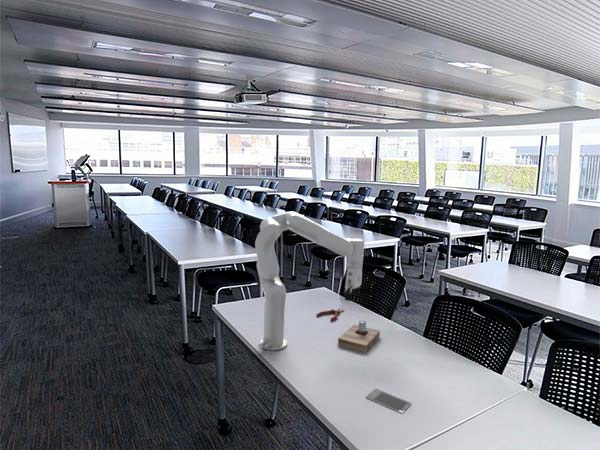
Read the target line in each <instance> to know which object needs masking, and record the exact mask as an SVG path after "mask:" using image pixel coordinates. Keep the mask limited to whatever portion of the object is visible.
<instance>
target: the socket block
mask: <svg viewBox="0 0 600 450" xmlns="http://www.w3.org/2000/svg"><path fill="white" fill-rule="evenodd" d="M358 327H359V324H358V325H356V324H353V325H352V326H351V327H349V329H347V330H346V331H345V332H344V333H342V335H341V336H339V337H338V340H337V346H339V347H344V348H347V349H350V350H355V351H358V352H362V353H365V354H366V353H367V352H368V350H369V349H370V348H372V347H373V345H374V344H375V343H376V342H377V341H378V340H379V339H380V334H381V330H377V329H373V328H369V327H366V332H365V336H364V335H360V334H358Z"/></svg>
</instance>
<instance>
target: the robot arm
mask: <svg viewBox="0 0 600 450" xmlns="http://www.w3.org/2000/svg"><path fill="white" fill-rule="evenodd" d="M260 222H261V223H260V225H259V232H258V234H257V235H256V239H255V241H254V247H255V248H254V249H255V253H256V258H257V261H256V271H257V274H258V277H259V281H260V284H261V288H262V291H263V293H264V307H263V310H264V311H263V312H264V313H263V314H264V315H263V337H262V339H261V340H260V343H259V344H258V347H259V348H263V349H264V350H267V351H280V350H283V349H285V348H286V347H287V343H288V342H287V340H286V339H284V338H285V335H284V334H285V311H286V310H285V309H286V308H285V307H286V299H287V289H286V286H285V284H284V283H283V282H282V280H281V279H280V266H279V262H278V259H277V254H276V250H275V242H276V240H277V239H278V238H279V237H280V236H281V234H282V232H286V231H287V230H290V231H291V232H294V233H295V234H297V235H299V236H301V237H303V238H305V239H307V240H309V241H311V242H312V243H315V244H316V245H318V246H320V247H321V246H322V247H324V248H326V249H327V250H329V251H331V252H333V253H335V254H338V255H340V256H341V257H345V258H346V257H347V260H346V267H347V269H346V271H347V272H346V276H345V285H344V293H345V294H344V300H345V301H349V302H351V301H352V295H353V296H355V297H359V296H360V287H361V285H362V283H363V282H362V280H363V278H362V277H363V264H364V263H363V261H364V251H365V241H364V240H363V239H361V238H354V237H353V238H346V237H341V236H339V235H337V234H336V233H334V232H332V231H330V230H329V229H327V228H326V227H324V226H323V225H321V224H319V223H317V222H315V221H313V220H311V219H309V218H308V217H305V215H302V214H300V213H298V212H296V211H293V210H291V211H287V212H283V213H279V214H275V215H272V216H269V217H266V218H264V219H263V220H262V221H260Z"/></svg>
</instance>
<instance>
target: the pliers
mask: <svg viewBox="0 0 600 450" xmlns="http://www.w3.org/2000/svg"><path fill="white" fill-rule="evenodd" d="M343 311H346V310H345V308H343V309H341V307H338V308H335V309H333V308H332V309H331V310H323V311H319V312H318V313H317V314H316V318H319V317H321V316H325V315H332V314H333V315H334V316H332V317H331V318H330V323H331V322H334V321H337V320H338V316H339V315H341V313H342V312H343Z"/></svg>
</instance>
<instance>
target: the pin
mask: <svg viewBox="0 0 600 450" xmlns="http://www.w3.org/2000/svg"><path fill="white" fill-rule="evenodd" d="M358 326H359V327H358V334H360V335H364V336H365V332H366V328H367V321H365V320H359V321H358Z"/></svg>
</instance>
